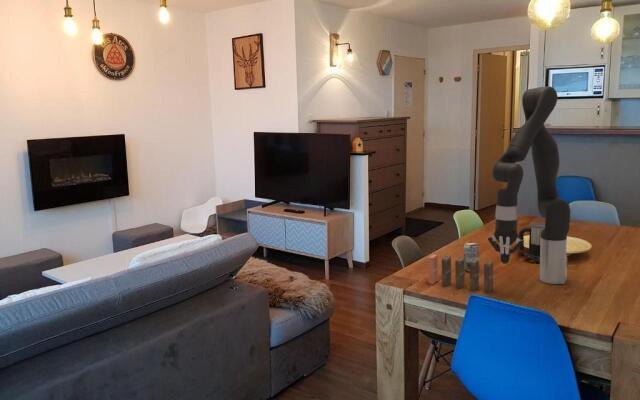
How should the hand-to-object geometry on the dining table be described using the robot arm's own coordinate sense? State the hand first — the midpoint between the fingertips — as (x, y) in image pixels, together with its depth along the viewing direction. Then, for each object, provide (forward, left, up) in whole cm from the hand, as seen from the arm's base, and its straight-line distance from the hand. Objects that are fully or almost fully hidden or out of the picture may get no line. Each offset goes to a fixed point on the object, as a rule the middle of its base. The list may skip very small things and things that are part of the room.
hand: (505, 263), depth 188 cm
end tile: (+28, 0, -12) cm, 30 cm away
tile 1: (+6, 0, -12) cm, 13 cm away
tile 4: (+22, 0, -12) cm, 25 cm away
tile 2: (+11, 0, -12) cm, 16 cm away
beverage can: (+19, -21, -12) cm, 31 cm away
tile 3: (+17, 0, -12) cm, 21 cm away
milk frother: (-2, -50, -12) cm, 51 cm away
